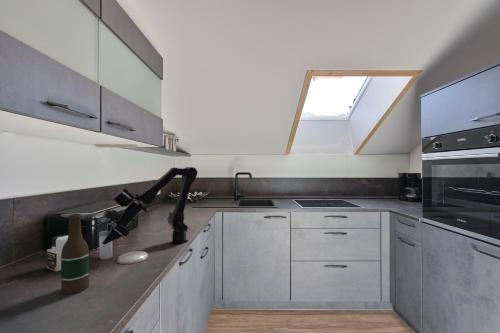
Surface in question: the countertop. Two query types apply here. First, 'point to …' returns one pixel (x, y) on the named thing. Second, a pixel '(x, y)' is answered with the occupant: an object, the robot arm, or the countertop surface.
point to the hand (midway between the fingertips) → (102, 242)
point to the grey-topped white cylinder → (107, 248)
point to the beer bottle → (74, 259)
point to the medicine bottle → (56, 252)
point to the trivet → (132, 257)
